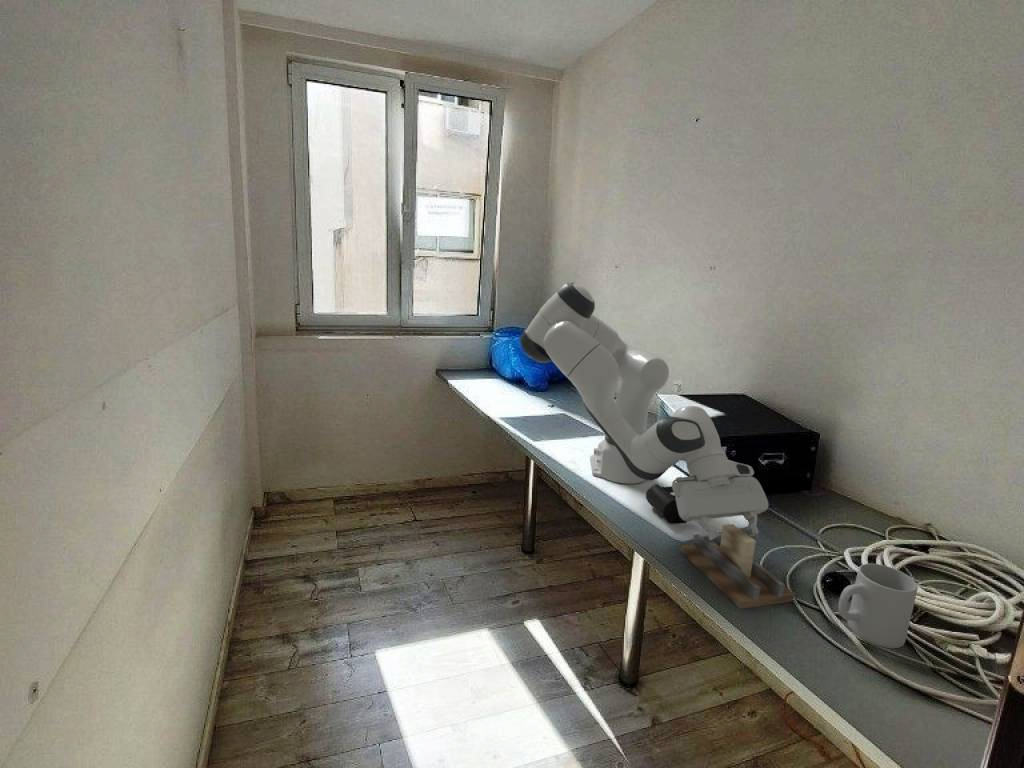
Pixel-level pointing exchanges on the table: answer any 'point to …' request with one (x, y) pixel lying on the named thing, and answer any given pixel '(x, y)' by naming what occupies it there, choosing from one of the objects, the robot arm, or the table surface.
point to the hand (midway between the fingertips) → (734, 537)
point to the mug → (879, 605)
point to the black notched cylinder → (664, 503)
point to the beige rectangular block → (737, 548)
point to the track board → (736, 576)
